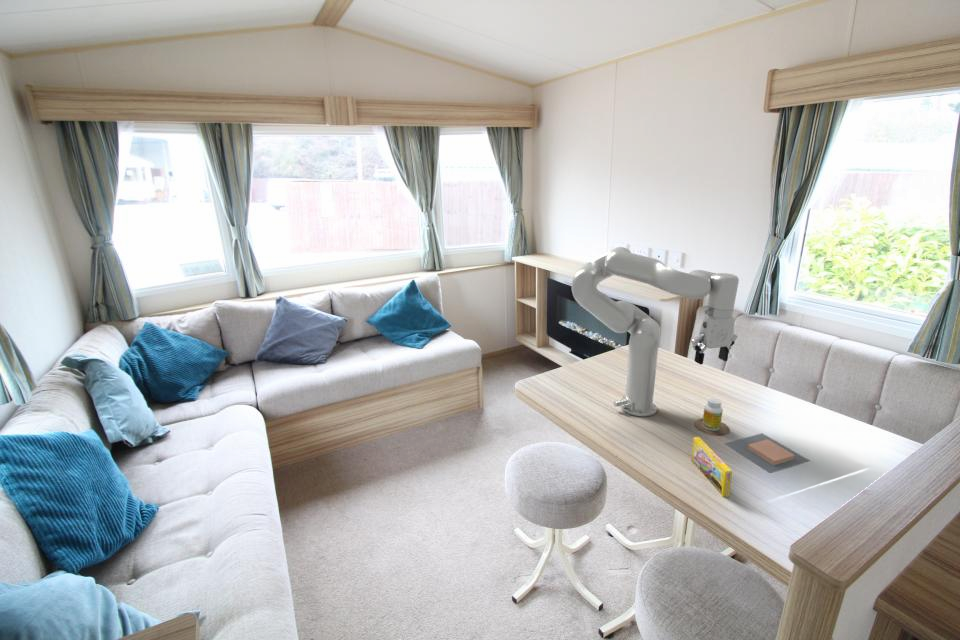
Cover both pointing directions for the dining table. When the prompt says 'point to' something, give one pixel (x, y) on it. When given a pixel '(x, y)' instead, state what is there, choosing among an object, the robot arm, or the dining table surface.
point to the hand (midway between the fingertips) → (710, 361)
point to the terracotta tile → (770, 452)
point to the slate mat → (742, 449)
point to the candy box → (711, 466)
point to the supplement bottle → (712, 414)
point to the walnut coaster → (721, 432)
